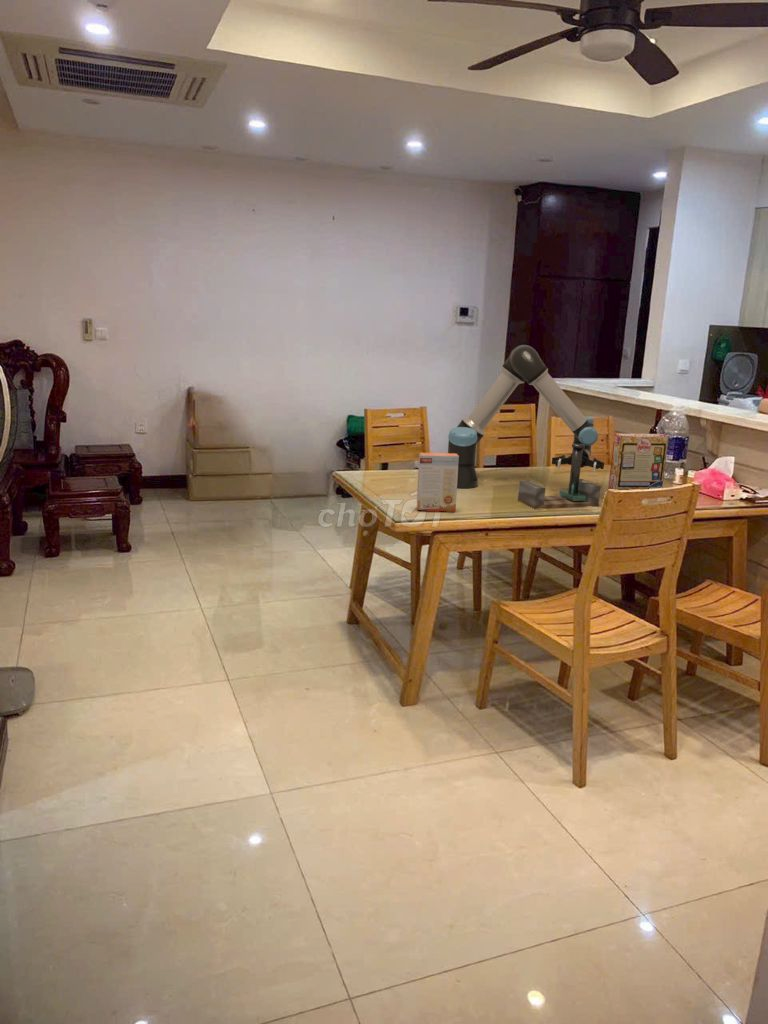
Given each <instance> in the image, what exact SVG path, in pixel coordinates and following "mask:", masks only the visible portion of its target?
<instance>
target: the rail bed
mask: <svg viewBox="0 0 768 1024" xmlns="http://www.w3.org/2000/svg"><path fill="white" fill-rule="evenodd" d="M578 492H580V493H582V494H585V495H587V498H586V500H585V501H572V500H569V499H567V498H565V497H563V496H561V495H559V494H558V495H555V494H554V495H546V487H545V486H542V485H540V484H537V483H535V482H533V481H531V480H519V483H518V495H517V501H518V502H520V503H521V502H522V503H521V504H523V503H524V505H525V504H526V506H527V505H528V506H527V507H529V506H530V507H529V508H531V507H532V509H533V508H534V509H533V510H536V509H535V508H546V509H562V508H563V509H565V508H568V507H569V508H584V507H585V508H587V506H592V507H599V502H600V495H601V485H600V484H596V483H594V482H593V481H592V480H587V479H584V478H579V487H578Z"/></svg>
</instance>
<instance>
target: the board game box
mask: <svg viewBox="0 0 768 1024" xmlns="http://www.w3.org/2000/svg"><path fill="white" fill-rule="evenodd" d="M669 438H670V436H669V435H667V434H664V433H614V435H613V444H612V452H611V460H610V461H611V463H610V472H609V480H608V486H607V487H608V489H618V490H629V489H649V488H661V487H662V488H663V484H664V478H665V471H666V470H665V469H666V461H667V455H668V445H669ZM608 489H607V490H608Z"/></svg>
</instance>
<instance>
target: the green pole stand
mask: <svg viewBox="0 0 768 1024" xmlns="http://www.w3.org/2000/svg"><path fill="white" fill-rule="evenodd" d="M571 447H572V450H573V454H572V453H571V454H572V463H571V465H570V474H569V482H568V483H569V484H568V489H559V491H558V492H559V494H558V495H561V496H563V497H565V498H567V499H569V500H572V501H585V500H586V498H587V495H585V494H582V493H580V492H578V487H579V479H581V478H580V475H581V460H582V451H583V448H585V445H584V444H576V443H575V444H573V443H572V444H571Z"/></svg>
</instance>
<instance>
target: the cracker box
mask: <svg viewBox="0 0 768 1024" xmlns="http://www.w3.org/2000/svg"><path fill="white" fill-rule="evenodd" d="M458 462H459V456H458V455H457V454H455V453H448V452H446V453H445V452H418V466H417V467H418V471H417V492H416V510H417V509H418V510H427V511H426V512H439V511H444V512H443V513H445V511H446V513H456V509H457V492H458V488H457V479H458ZM418 510H417V511H418Z"/></svg>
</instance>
